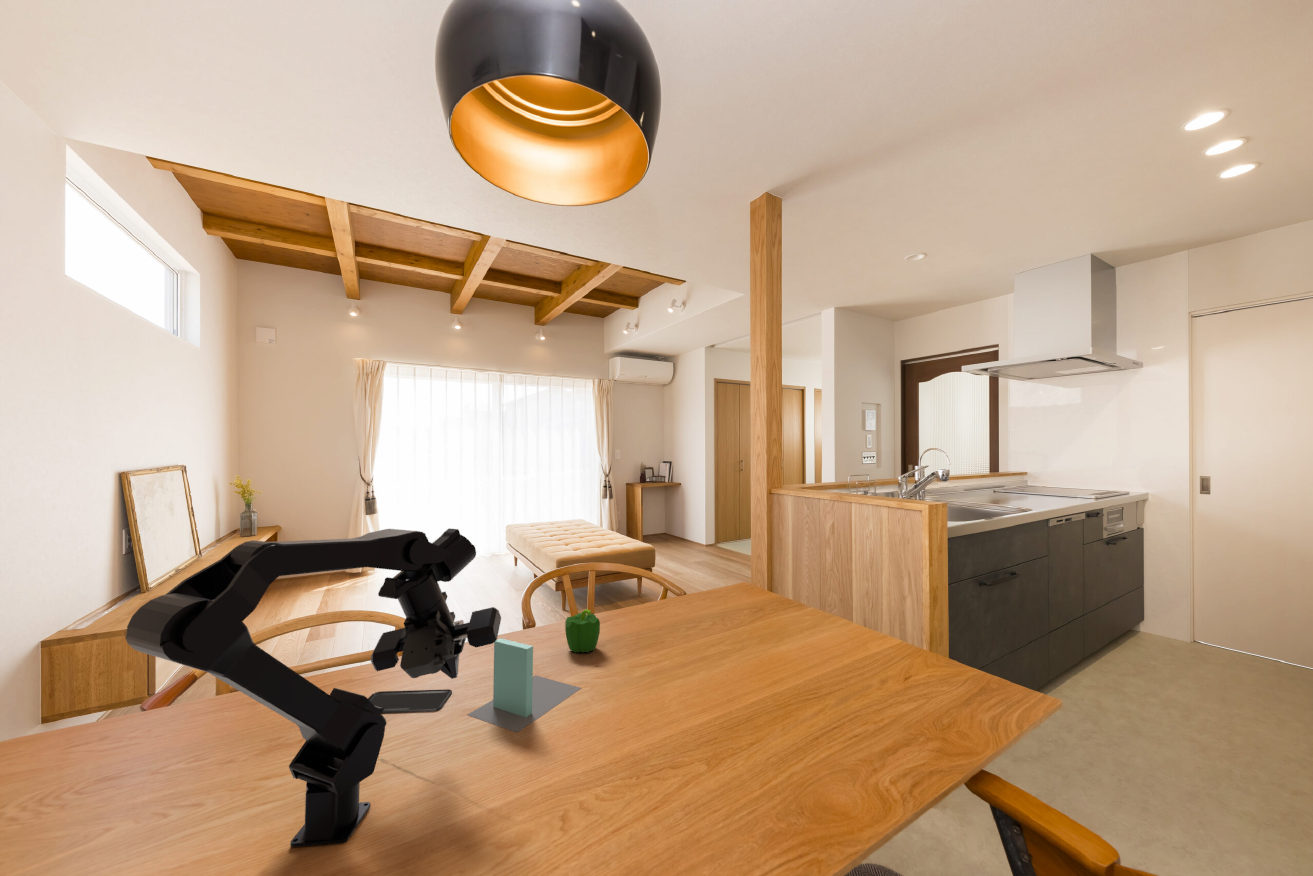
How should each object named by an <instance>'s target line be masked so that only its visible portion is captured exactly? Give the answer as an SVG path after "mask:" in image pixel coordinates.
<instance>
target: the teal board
mask: <svg viewBox="0 0 1313 876" xmlns="http://www.w3.org/2000/svg"><path fill="white" fill-rule="evenodd" d="M493 644H494V645H493V687H492V689H493V692H492V693H493V694H492V697H493V698H492V700H493V707H495V708H498V709H501V710H504V711H507V712H510V713H513V714H516V715H519V716H522V717H525V718H526V717H528V716H529V715H531V714H532V688H533V676H534V675H533V674H534V673H533V672H534V668H533V667H534V646H533V645H531V644H526V643H522V642H519V641H513V640H509V639H505V638H497V640H496V641H495V642H494V643H493Z"/></svg>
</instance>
